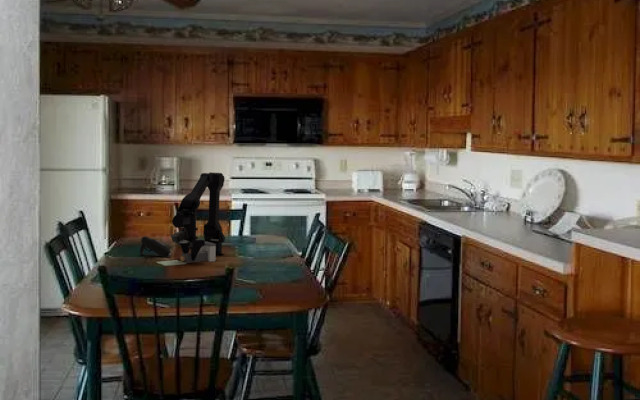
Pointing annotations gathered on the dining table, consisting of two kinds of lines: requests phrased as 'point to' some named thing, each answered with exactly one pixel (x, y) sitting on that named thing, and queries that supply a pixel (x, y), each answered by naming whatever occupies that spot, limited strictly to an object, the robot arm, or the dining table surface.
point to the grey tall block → (200, 257)
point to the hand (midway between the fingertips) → (189, 259)
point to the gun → (154, 247)
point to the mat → (170, 263)
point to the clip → (209, 250)
